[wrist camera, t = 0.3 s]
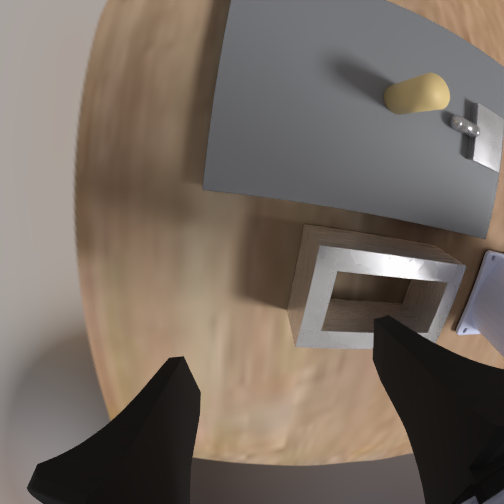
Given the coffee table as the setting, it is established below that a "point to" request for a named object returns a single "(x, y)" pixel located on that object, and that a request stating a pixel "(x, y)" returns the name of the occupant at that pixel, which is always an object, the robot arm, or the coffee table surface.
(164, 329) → the coffee table surface
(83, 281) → the coffee table surface
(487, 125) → the chain anchor
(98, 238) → the coffee table surface
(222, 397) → the coffee table surface
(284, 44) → the board
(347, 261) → the steel link
